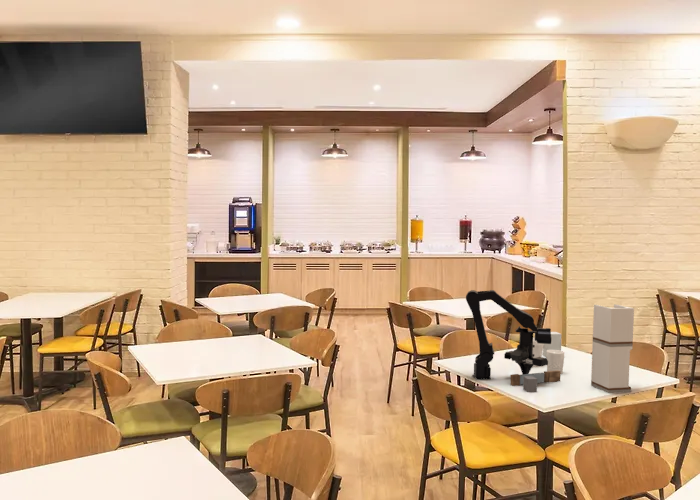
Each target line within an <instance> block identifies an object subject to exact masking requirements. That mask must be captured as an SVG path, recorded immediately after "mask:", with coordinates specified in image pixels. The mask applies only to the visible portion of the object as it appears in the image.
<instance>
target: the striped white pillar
mask: <svg viewBox="0 0 700 500" xmlns="http://www.w3.org/2000/svg"><path fill="white" fill-rule="evenodd" d="M634 316H635V308H634V307H630V306H624V305H622V304H621V305H620V304H613V307H608V306H603V305H599V304H593V319H592V320H593V322H592V343H591V345H592V349H591V350H592V351H591V374H590V386H591V387H594V388H596V389H597V390H600V391H602V392H604V393H607V394H615V393H616V394H618V393H631V392H632V387H631V386H630V384H629V383H630V358H631V357H630V356H631V351H632V350H633V347H634V346H633V344H634V340H633V339H634V319H635V318H634Z"/></svg>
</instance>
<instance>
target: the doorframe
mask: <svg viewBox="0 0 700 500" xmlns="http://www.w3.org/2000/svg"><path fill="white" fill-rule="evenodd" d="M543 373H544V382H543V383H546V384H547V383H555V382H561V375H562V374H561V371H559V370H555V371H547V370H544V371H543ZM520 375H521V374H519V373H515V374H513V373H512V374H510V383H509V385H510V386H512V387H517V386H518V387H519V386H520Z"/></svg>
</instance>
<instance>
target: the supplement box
mask: <svg viewBox="0 0 700 500" xmlns="http://www.w3.org/2000/svg"><path fill="white" fill-rule="evenodd" d="M547 350H560V351H562V333H560V332H558V331H551V344H544V345H543V351H542V356H544V358H547Z"/></svg>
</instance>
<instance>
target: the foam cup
mask: <svg viewBox="0 0 700 500" xmlns="http://www.w3.org/2000/svg"><path fill="white" fill-rule="evenodd" d="M533 345H535V347H534V348H533V354H534V357H533V358H536V357H542V356H543V345H544V344H540V343H537V342H536V341H535V337H533ZM539 367H540V366H536V365H533V367H532V368H539Z"/></svg>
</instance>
